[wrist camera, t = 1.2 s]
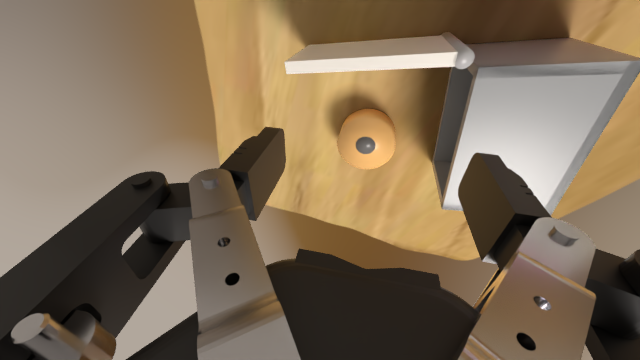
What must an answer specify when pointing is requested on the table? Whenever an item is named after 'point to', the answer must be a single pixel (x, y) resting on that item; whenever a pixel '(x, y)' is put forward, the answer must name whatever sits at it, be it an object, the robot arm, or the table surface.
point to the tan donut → (367, 139)
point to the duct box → (529, 111)
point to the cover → (382, 55)
